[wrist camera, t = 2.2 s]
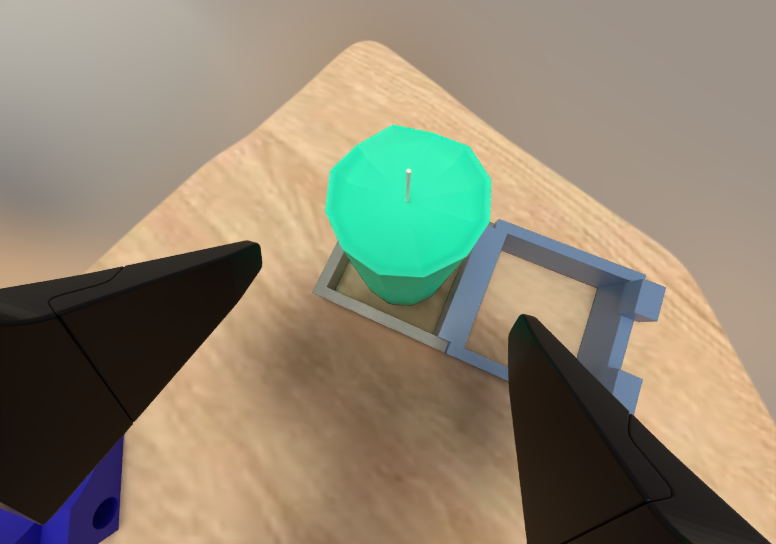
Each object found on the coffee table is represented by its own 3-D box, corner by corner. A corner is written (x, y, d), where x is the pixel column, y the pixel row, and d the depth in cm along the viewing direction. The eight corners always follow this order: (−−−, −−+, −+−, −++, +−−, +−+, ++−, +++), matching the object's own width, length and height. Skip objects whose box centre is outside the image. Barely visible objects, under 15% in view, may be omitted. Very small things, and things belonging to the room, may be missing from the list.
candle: (462, 269, 20) (554, 179, 8) (398, 324, 19) (396, 312, 7) (408, 210, 21) (418, 56, 9) (345, 260, 20) (271, 162, 9)
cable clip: (121, 527, 17) (-20, 626, 12) (51, 537, 17) (-125, 641, 12) (131, 334, 20) (20, 335, 14) (70, 343, 20) (-66, 348, 14)
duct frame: (614, 284, 19) (669, 272, 15) (577, 412, 18) (628, 436, 14) (372, 190, 21) (367, 158, 17) (320, 296, 20) (301, 287, 16)
